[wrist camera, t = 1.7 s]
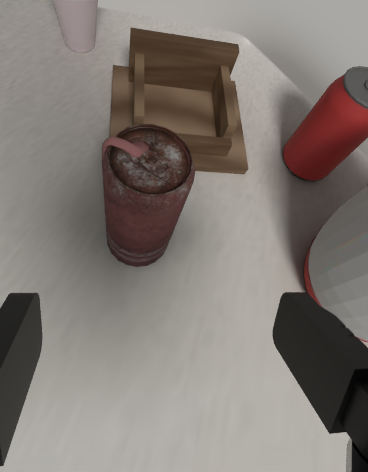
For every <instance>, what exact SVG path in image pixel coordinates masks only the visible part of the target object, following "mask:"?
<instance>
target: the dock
mask: <svg viewBox="0 0 368 472" xmlns="http://www.w3.org/2000/svg"><path fill="white" fill-rule="evenodd" d="M238 54H239V47H238V44H232V43H226V42H219V41H213V40H207V39H200V38H194V37H187V36H181V35H175V34H168V33H162V32H155V31H149V30H143V29H136V28H131V33H130V56H129V67H124V66H116V65H113V84H112V104H111V125H110V137H113V136H114V137H115V136H116V135H117V133H119V132H120V131H122V130H124V129H125V128H127V127H130V126H134V125H137V124H154V125H158V126H162V127H165V128H167V129H169V130H171V131H173V132H175V133H176V134H177V135H178V136H180V137H181V138H182V139H183V140H184V141H185V143H186V144H187V146H188V148H189V149H190V151H191V155H192V158H193V163H194V167H195V171H206V172H220V173H234V174H245V173H246V171H247V170H248V164H247V158H246V151H245V145H244V138H243V131H242V125H241V118H240V111H239V105H238V98H237V92H236V85H235V81H231V79H230V75H231V72H232V70H233V67H234V64H235V62H236V59H237V57H238Z"/></svg>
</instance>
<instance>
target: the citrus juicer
mask: <svg viewBox="0 0 368 472" xmlns="http://www.w3.org/2000/svg"><path fill="white" fill-rule="evenodd" d="M304 279H305V285H306V289H307V291H308V294H309V295H310V296H311V297H312V298H313V299H314V300H315V301H316V302H317V303H318V304H319V305H320V306H321V307H323V308H324V309H326V310H328V311H329V312H331V313H332V314H334V315H336V316H337V317H338V318H339V319H340V320H341V321H342V322H343V324H344V325H345V326H346V328H348V329H349V330H350V331H351V332H352V333H353V334H354V336H355V337H357V338H358V339H360V340H362V341H365V342H368V185H367V186H366V187H364V188H363V189H362V190H360V191H359V192H358V193H356V194H355V195H354V196H352V197H351V198H350V199H348V200H347V201H346V202H345V203H344V204H343V205H342V206H340V207H339V208H338V209H337V210H336V211H335V213H334V214H333V215H332V216H331V217H330V218H329V220H328V221H327V222H326V223H325V224H324V226H323V227H322V228H321V230H320V231H319V233H318V234H317V235H316V237H315V238H314V239H313V242H312V244H311V246H310V248H309V250H308V253H307V256H306V260H305V265H304Z"/></svg>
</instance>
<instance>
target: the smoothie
mask: <svg viewBox="0 0 368 472" xmlns="http://www.w3.org/2000/svg"><path fill="white" fill-rule="evenodd" d="M53 2H54V6H55V9H56V13H57V16H58V20H59V23H60V27H61V30H62V33H63V37H64V40H65V44H66V46H67V47H68V48H69V49H70V50H72V51H74V52H78V53H85V52H89V51H91V50H92V49H93V48H94V45H95V30H96V16H97V2H98V0H53Z"/></svg>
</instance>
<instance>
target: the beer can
mask: <svg viewBox="0 0 368 472" xmlns="http://www.w3.org/2000/svg"><path fill="white" fill-rule="evenodd" d="M366 138H368V67H362V66H361V67H360V66H359V67H353V68H350V69H349V70H347V72H346V73H345V74H344V75H343V76H341V77H340V78H338V79H336V80H335V81H334V82H333V83H332V84H331V85H330V86H329V87H328V88H327V90H326V91H325V93H324V94H323V95H322V96H321V98H320V99H319V101H318V102H317V103H316V104H315V106H314V107H313V108H312V110H311V111H310V112H309V114H308V115H307V117H306V118H305V119H304V121H303V122H302V123H301V125H300V126H299V127H298V129H297V130H296V131H295V133H294V134H293V135H292V137H291V138H290V139H289V141H288V142H287V143H286V145H285V146H284V151H283V156H284V161H285V163H286V164H287V166H288V168H289V169H290V170H291V171H292V172H293V173H294V174H296V175H297V176H299V177H301V178H303V179H306V180H319V179H322V178H324V177H325V176H327V175H328V174H329V173H330V172H331V171H332V170H333V169H334V168H335V167H336V166H338V165H339V164H340V163H341V162H342V161H343V160H344V159H345V158H346V157H347V156H348V155H349V154H350V153H352V152H353V151H354V150H355V149H356V148H357V147H358V146H359V145H360V144H361V143H362V142H363V141H364V140H366Z"/></svg>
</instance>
